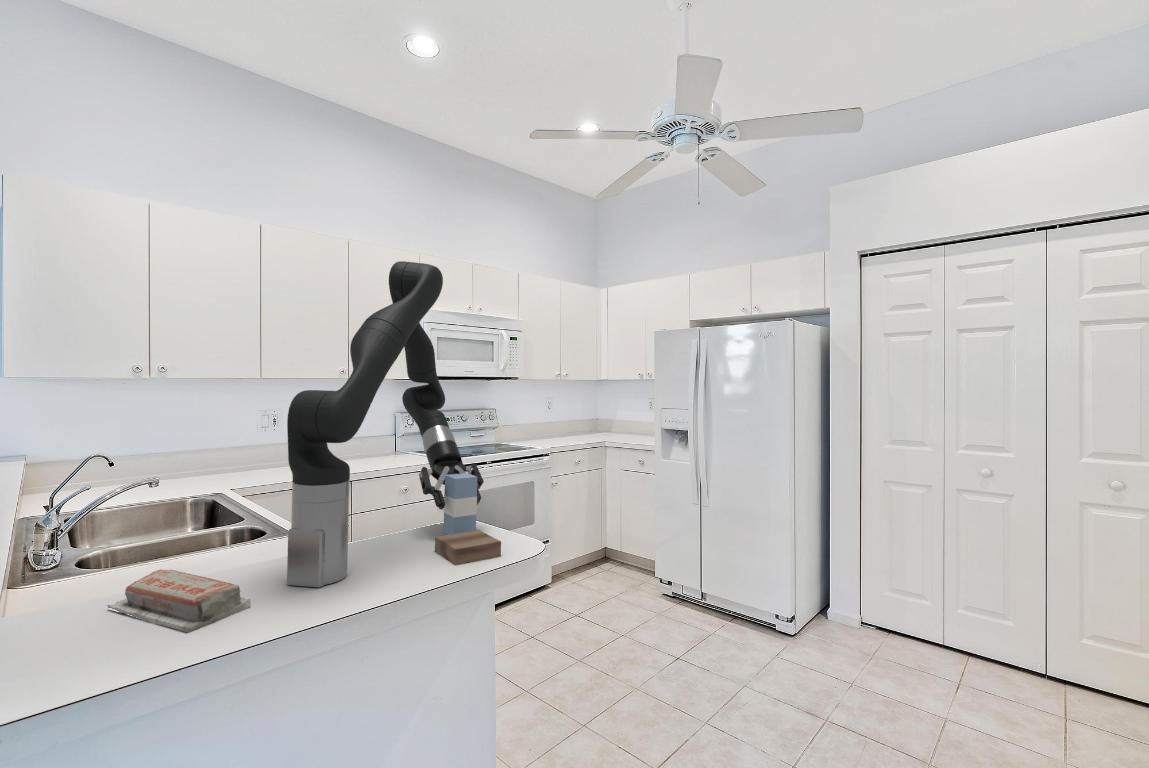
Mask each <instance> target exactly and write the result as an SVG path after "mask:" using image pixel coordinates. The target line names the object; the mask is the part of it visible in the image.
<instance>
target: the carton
mask: <svg viewBox="0 0 1149 768" xmlns="http://www.w3.org/2000/svg"><path fill="white" fill-rule="evenodd" d="M443 494H444V495H443V498H444V501H445V506H444V508H443V532H442V533H443V534H442V536H443V535H449V534H456V533H462V532H468V531H475V530H477V515H478V514H477V513H478V512H477V511H478V505H477V477H476V476H474V475H471V474H468V472H466V473H463V474H451V475H445V485H444V493H443Z"/></svg>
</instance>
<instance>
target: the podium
mask: <svg viewBox="0 0 1149 768" xmlns="http://www.w3.org/2000/svg"><path fill="white" fill-rule="evenodd" d="M434 552H435V553H437V554H438V555H440V556H441V557H443V558H444V559H446V560H447V561H449V562H450V563H452V564H453V565H455V566H457V565H456V564H458V565H462V564H461V563H463V564H467V562H468V563H472V561H473V562H478V561H483V560H489V559H493V558H492V557H494V558H497V557H496V556H499V557H501V556H502V555H501V554H502V541H501V540H499V539H497V538H495V537H494V536H491V535H489V534H487V533H485V532H484V531H482V530H479V529H476V530H475V531H468V532H462V533H456V534H449V535H443V534H442V535H439V536H438V535H437V536H434ZM488 558H489V559H488Z"/></svg>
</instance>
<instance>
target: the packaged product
mask: <svg viewBox="0 0 1149 768" xmlns="http://www.w3.org/2000/svg"><path fill="white" fill-rule="evenodd" d="M240 589H241V588H240V586H239V585H238V584H235V583H234V584H233V583H231V582H228V581H227V582H226V581H222V580H219V579H214V578H210V577H206V576H201V575H197V574H192V573H187V572H183V571H178V570H174V569H157V570H154V571H152V572H151V573H149V574H146V575H145V576H144V577H142V578H140V579H138V580H135V581H134V582H133V583H130V584H129V585H128V586H126V588H125V590H124V591H125V592H124V595H125V598H124V599H122V600H118V601H116V602H115V603H114V604H107V605H106V606H107V609H108V608H112V609H115V610H117V611H119V612H121V613H120V614H122V613H125V614H124V615H126V614H129V615H132V616H134V617H137V618H139V619H138V620H141V619H143V620H142V621H144V620H146V621H145V622H147V621H148V623H149V624H153V623H154V624H153V625H157V624H159V626H162V625H164V627H166V626H167V627H166V628H170V627H171V629H174V630H177V631H180V632H184V633H187V634H189V633H192V632H194V631H195V630H196V631H197V630H198V629H201V628H204V627H206V626H208V625H212V624H213V623H216V622H218V621H220V620H223V619H225V618H227V617H230V616H233V615H236V614H238V613H240V612H242V611H244V610H246V609H250V608H251V598H246V597H244V596H241V590H240ZM134 617H133V618H134ZM137 618H136V619H137Z"/></svg>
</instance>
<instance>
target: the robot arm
mask: <svg viewBox="0 0 1149 768" xmlns="http://www.w3.org/2000/svg"><path fill="white" fill-rule="evenodd" d="M443 285H444V278H443V274H442V272H441V270H440V269H439V268H438V267H437V266H436V265H432V264H429V263H422V262H413V261H401V260H400V261H396V262H394V264H392V266H391V267H390V270H389V274H388V286H389V287H388V288H389V294H390V298H391V301H392V303H391V304H389V305H387V306H385V307H383V308H381V309H379V310H377V311H376V312H375V311H374V312H373V313H372V314H371V315H368V317H367V318H366V319H365V320H364V322H363V323H362V324H361V326H360V327H359V329H358V330H357V331H356V333H355V334H354V336H353V337H352V339H351V341H350V345H349V346H350V348H349V349H350V350H349V352H350V359H351V363H352V364H351V365H352V372H351V374H350V376H349V378H348V379H347V380H346V381H345V383H344V384H343V386H342V387H340V388H339V389H337V390H324V389H323V390H322V389H321V390H320V389H319V390H317V389H314V390H313V389H307V390H306V389H305V390H302V391H299V392H298V393H296V395H295V396H293V398H292V400H291V402H290V405H289V407H288V412H287V421H286V427H287V429H286V430H287V431H286V432H287V460H288V466H289V469H290V471H291V474H292V475H291V476H292V482H291V483H292V487H291V489H292V490H291V518H290V522H291V524H290V525H291V526H290V527H291V528H289V529H288V531H287V557H286V558H287V560H286V561H287V562H286V564H287V567H286V568H287V569H286V585H287V586H288V585H289V586H299V587H309V588H322V587H323V586H326V585H329V584H333V583H336V582H339V581H341V580H343V579H345V578H346V577H347V575H348V562H349V560H348V559H349V557H348V556H349V515H350V514H349V513H350V511H349V510H350V506H349V505H350V477H351V476H350V475H351V470H350V469H351V468H350V465H349V464H348V463H347V461H344V460H342V459H341V458H339V457H337V456H336V455H335V454H333V453H332V451H331V450H330V449H329V447H328V444H343V443H346V442H348V441H351V439H352V438H354V437H355V435H356V434H357V433H358V431H359V430H360V428H361V426H362V425H363V423H364V421H365V419H366V416H367V414H368V412H369V409H370V407H371V405H372V403H373V401H374V399H375V396H376V395H377V392H378V390H379V388H380V386H381V385H382V383H383V381H384V380H385V378H386V376H387V374H388V373H389V371H390V369H391V368H392V367H393V365H394V363H395V362H396V360H397V359H398V357H399V356H400V354H401V353H402V351H403V349H404V353H405V362H406V363H405V364H406V373H407V377H408V379H409V380H410V381H411V382H414V383H418V384H424V385H419V386H418V385H417V386H411V387H408V388H406V389H405V390H404V392H403V394H402V399H401V400H402V405H403V406H404V408H405V411H406V412H407V414H408V415H409V416H410V417H411V418H412V419H413V421H414V422H415V424H416V425H417V427H418V430H419V433H420V436H421V439H422V444H423V448H424V449H423V450H424V452H425V456H426V458H427V462H428V464H429V467H430V468H427V466H423V467H422V468H421V470H420V472H419V474H418V476H419V482H420V485H421V489H422V493H423V495H425V496H427V495H431V496H432V498H433V500H434V503H435V506H436V507H437V508H438V509H439V510H444V506H445V501H444V495H443V492H442V490H440V489H441V487H442V485H443V486H445V475H451V474H463V473H468V474H471V475H474V476H476V477H477V506H478V505H479V503H480V502H481V500H482V496H481V493H480V489H481V487H482V486H483V484H484V479H483V477H482V474H481V472H480V470H479V468H478V465H477V463H475V462H473V463H472V464H471V465H467V466H466V465H465V464H464V463H463V460H462V455H461V453H460V450H459V447H458V444H457V441H456V439H455V436H454V434H453V432H452V431H451V429H450V425H449V423H448V419H447V418H446V415H445V414H444V413H443V411H441V409H442V408H443V407H444V406H445V403H446V395H445V391H444V389H443V388H442V385H441V383H440V380H439V376H438V373H437V366H436V354H435V353H436V352H435V348H434V345H433V342H432V340H431V339H430V337H429V335H428V334H427V332H426V331H425V330H424V328H423V326H422V325H421V323H420V322H421V321H422V319H423V318H425V316H426V315H427V314H428V312H429V311H430V310H431V308H433V306H434V305H435V304H436V302H437V301H438V298H439V297H440V295H441V292H442V289H443ZM431 476H432V477H433V478H434V479H435V480H436V483H435V485H434V486H433V485H432V484H431V479H430V478H431Z"/></svg>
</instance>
